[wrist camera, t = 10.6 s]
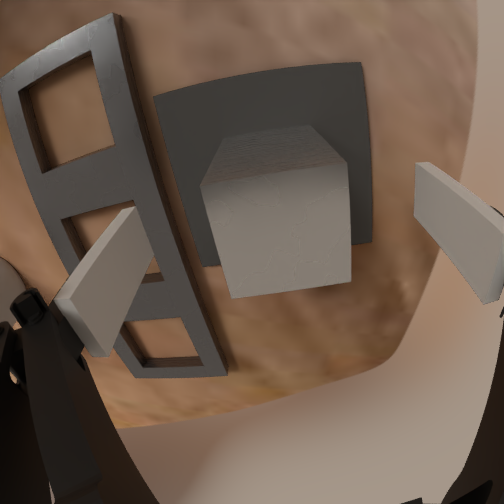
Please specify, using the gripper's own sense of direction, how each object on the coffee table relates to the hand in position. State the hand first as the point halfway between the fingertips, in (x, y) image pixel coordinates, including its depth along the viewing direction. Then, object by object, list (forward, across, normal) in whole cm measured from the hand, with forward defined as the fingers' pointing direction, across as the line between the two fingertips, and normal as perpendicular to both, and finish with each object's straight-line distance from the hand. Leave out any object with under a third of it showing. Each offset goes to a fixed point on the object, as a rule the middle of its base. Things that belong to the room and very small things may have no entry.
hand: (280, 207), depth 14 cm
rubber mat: (+6, 0, 0) cm, 6 cm away
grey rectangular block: (+5, 0, 0) cm, 5 cm away
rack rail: (+6, -12, -3) cm, 14 cm away
